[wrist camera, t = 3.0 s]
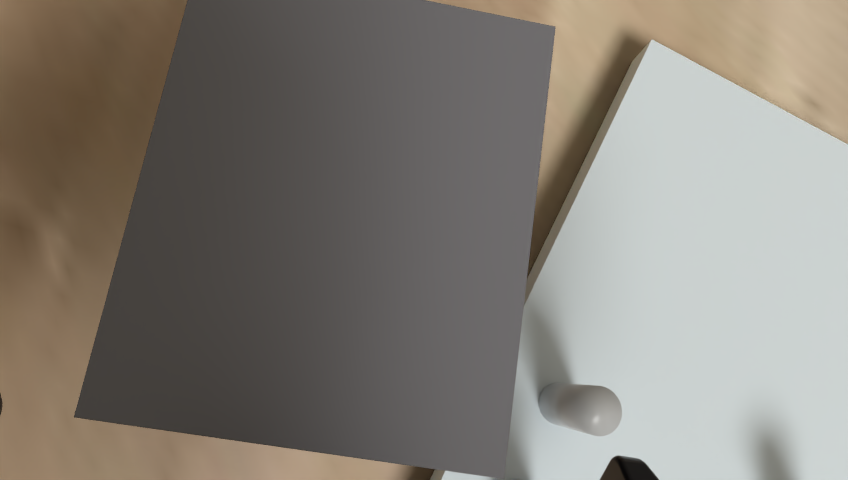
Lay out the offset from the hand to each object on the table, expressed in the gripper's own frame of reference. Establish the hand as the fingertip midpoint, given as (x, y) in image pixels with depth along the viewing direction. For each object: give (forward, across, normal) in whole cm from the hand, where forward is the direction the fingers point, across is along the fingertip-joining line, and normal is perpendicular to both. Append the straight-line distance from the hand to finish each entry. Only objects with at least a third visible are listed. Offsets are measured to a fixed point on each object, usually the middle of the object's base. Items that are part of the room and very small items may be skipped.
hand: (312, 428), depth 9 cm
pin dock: (+8, -11, +6) cm, 15 cm away
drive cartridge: (+9, 0, +5) cm, 10 cm away
